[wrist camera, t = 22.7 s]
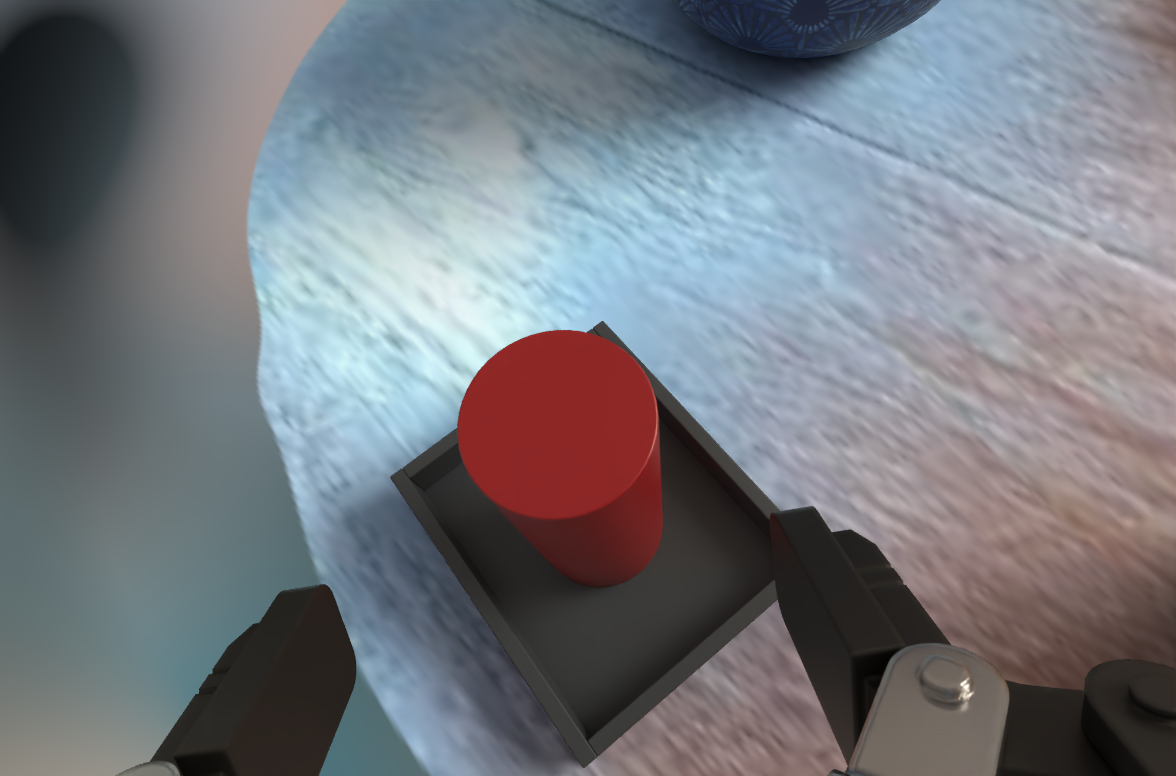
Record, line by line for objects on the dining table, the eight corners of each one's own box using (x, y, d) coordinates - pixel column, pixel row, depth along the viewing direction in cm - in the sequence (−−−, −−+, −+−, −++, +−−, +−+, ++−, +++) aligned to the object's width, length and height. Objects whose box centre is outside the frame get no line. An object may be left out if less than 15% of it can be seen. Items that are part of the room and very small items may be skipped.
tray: (591, 761, 25) (583, 769, 23) (411, 493, 30) (389, 476, 28) (811, 569, 27) (825, 557, 25) (607, 346, 32) (602, 319, 30)
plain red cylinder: (680, 486, 29) (685, 360, 18) (638, 607, 27) (615, 551, 16) (566, 447, 30) (505, 307, 19) (518, 560, 28) (422, 478, 17)
